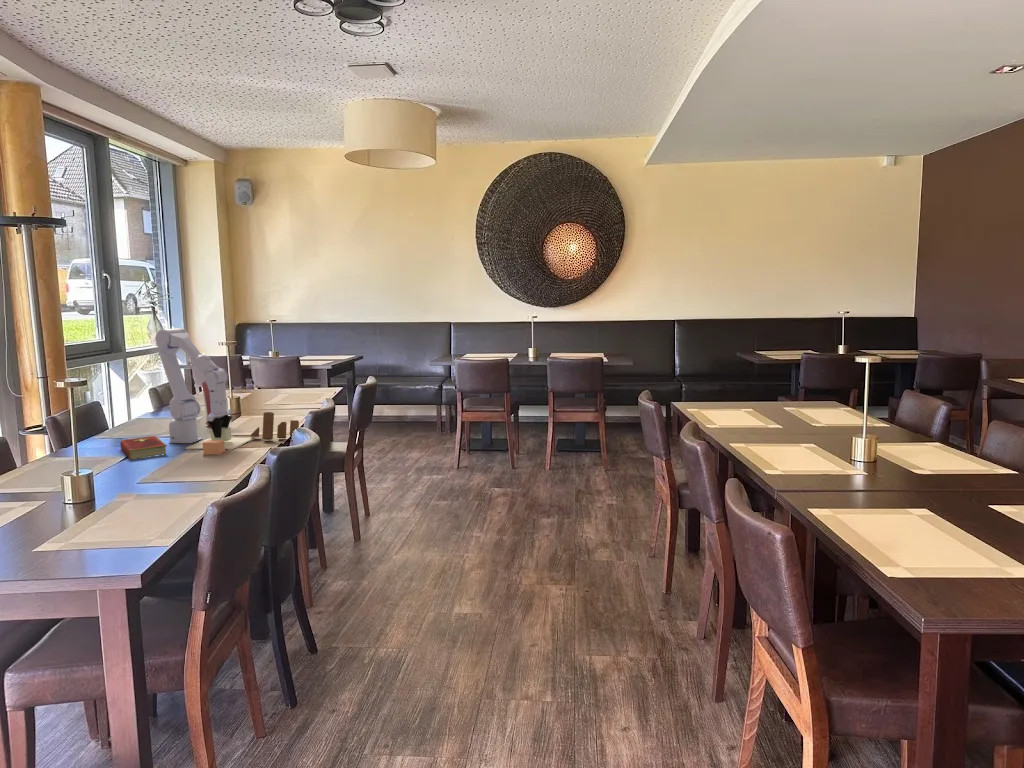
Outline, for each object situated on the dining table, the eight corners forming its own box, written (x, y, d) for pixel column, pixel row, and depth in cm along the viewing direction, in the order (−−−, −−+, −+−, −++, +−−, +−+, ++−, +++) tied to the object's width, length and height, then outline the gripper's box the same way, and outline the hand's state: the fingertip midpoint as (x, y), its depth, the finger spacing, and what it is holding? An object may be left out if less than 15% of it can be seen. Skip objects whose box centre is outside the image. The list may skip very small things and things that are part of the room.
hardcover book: (129, 461, 241) (128, 449, 240) (120, 450, 258) (119, 439, 257) (167, 456, 248) (166, 444, 247) (156, 445, 265) (155, 434, 264)
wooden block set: (298, 441, 276) (299, 416, 278) (297, 438, 268) (298, 412, 270) (250, 441, 272) (252, 415, 274) (247, 438, 263) (249, 411, 266)
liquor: (216, 427, 295) (212, 362, 291) (201, 427, 297) (196, 362, 293) (227, 424, 302) (222, 360, 298) (212, 423, 304) (207, 360, 300)
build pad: (185, 449, 256) (185, 447, 256) (211, 438, 274) (211, 437, 273) (231, 449, 254) (231, 448, 254) (255, 439, 272) (255, 437, 271)
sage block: (211, 441, 262) (210, 429, 261) (216, 438, 266) (215, 427, 265) (226, 441, 261) (225, 429, 261) (231, 439, 265) (230, 427, 265)
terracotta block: (203, 454, 248) (202, 442, 247) (209, 452, 252) (208, 439, 251) (219, 454, 247) (218, 442, 246) (225, 452, 251) (224, 440, 250)
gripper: (218, 404, 254) (220, 440, 256) (237, 398, 268) (240, 432, 270) (200, 404, 255) (202, 440, 256) (220, 398, 269) (223, 432, 271)
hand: (220, 436), depth 263 cm, fingers closed on sage block, 4 cm apart
